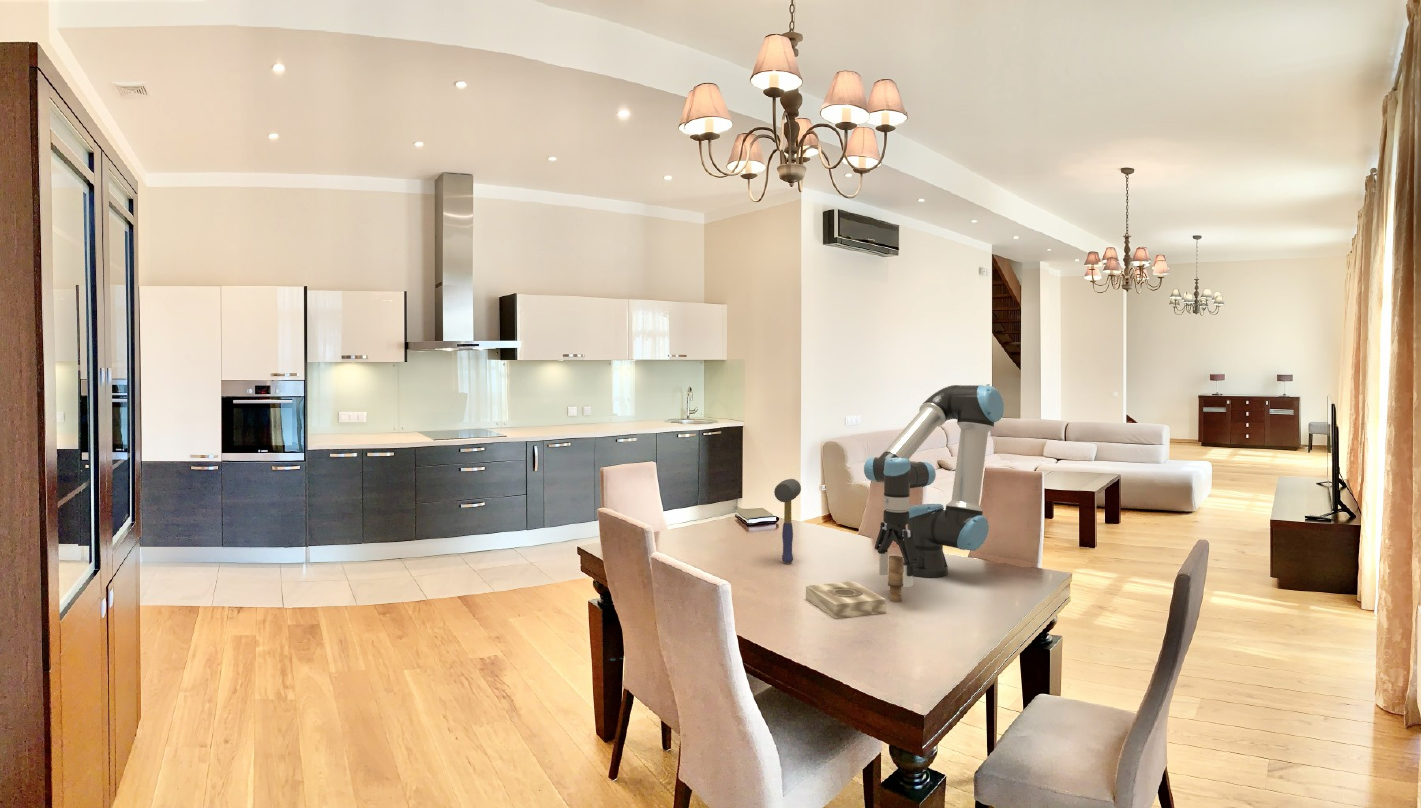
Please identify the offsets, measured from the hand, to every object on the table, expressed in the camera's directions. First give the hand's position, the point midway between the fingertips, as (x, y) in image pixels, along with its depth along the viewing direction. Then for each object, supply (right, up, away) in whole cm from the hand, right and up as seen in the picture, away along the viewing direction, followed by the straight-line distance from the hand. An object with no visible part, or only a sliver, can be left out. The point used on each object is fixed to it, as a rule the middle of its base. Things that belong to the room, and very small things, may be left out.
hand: (895, 580), depth 228 cm
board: (-16, -6, -5) cm, 18 cm away
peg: (0, -6, 0) cm, 6 cm away
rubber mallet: (-28, -4, +44) cm, 52 cm away
